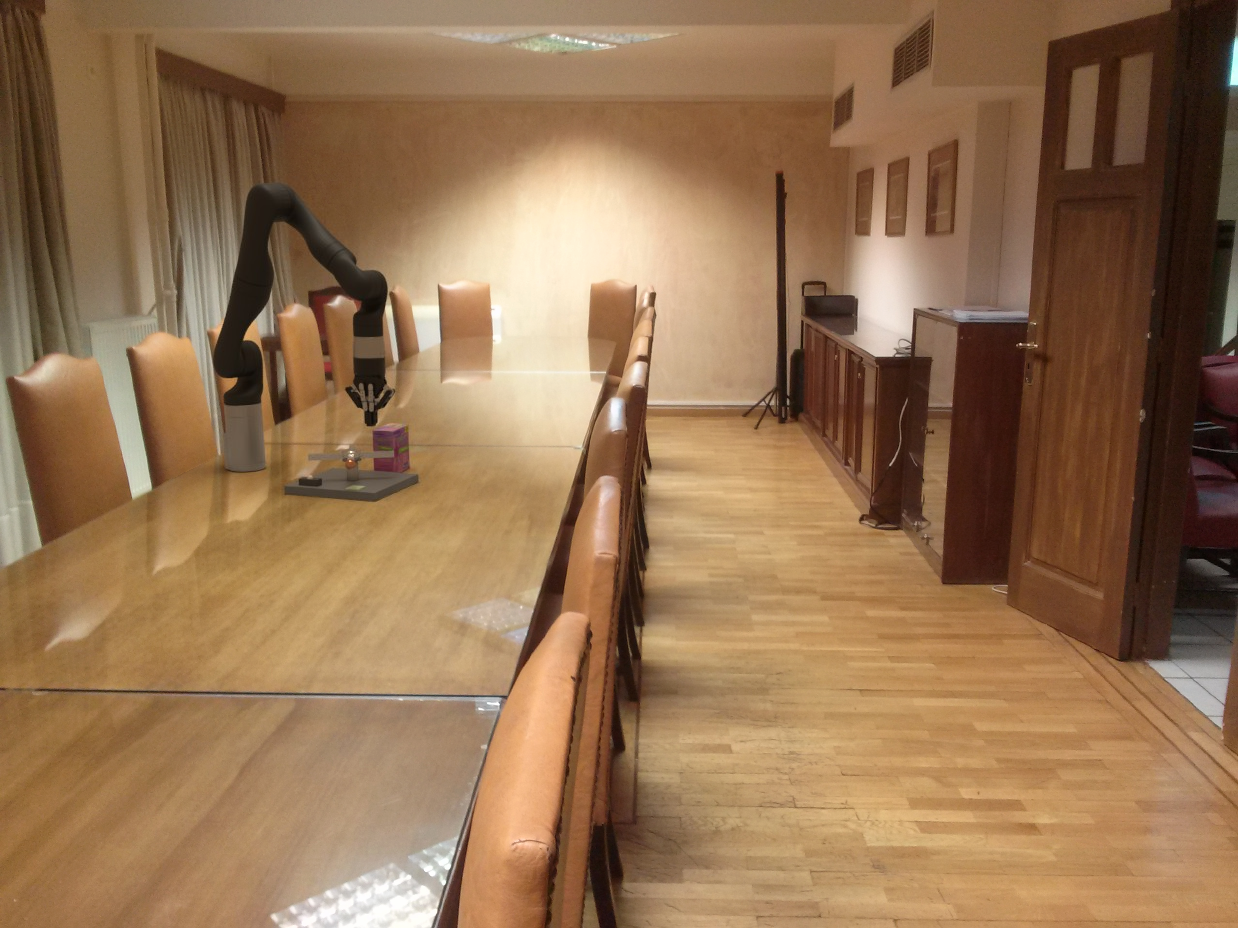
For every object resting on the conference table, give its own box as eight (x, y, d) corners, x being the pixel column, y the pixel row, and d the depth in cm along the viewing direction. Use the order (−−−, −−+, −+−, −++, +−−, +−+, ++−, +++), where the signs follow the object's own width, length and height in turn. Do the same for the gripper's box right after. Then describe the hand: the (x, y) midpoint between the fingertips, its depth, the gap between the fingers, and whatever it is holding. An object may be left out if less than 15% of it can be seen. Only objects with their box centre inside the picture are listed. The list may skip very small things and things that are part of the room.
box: (394, 476, 273) (392, 430, 270) (373, 475, 274) (371, 430, 271) (410, 468, 283) (408, 423, 280) (390, 467, 284) (388, 423, 281)
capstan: (311, 453, 267) (310, 444, 266) (393, 450, 271) (393, 441, 270) (305, 472, 246) (304, 462, 245) (394, 468, 250) (394, 458, 249)
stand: (284, 494, 254) (282, 467, 253) (333, 475, 274) (332, 450, 273) (375, 501, 247) (373, 473, 246) (418, 481, 267) (417, 456, 266)
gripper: (336, 355, 257) (339, 426, 261) (385, 358, 253) (388, 430, 257) (352, 351, 264) (355, 421, 268) (401, 354, 260) (403, 425, 264)
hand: (371, 426), depth 262 cm, fingers closed
